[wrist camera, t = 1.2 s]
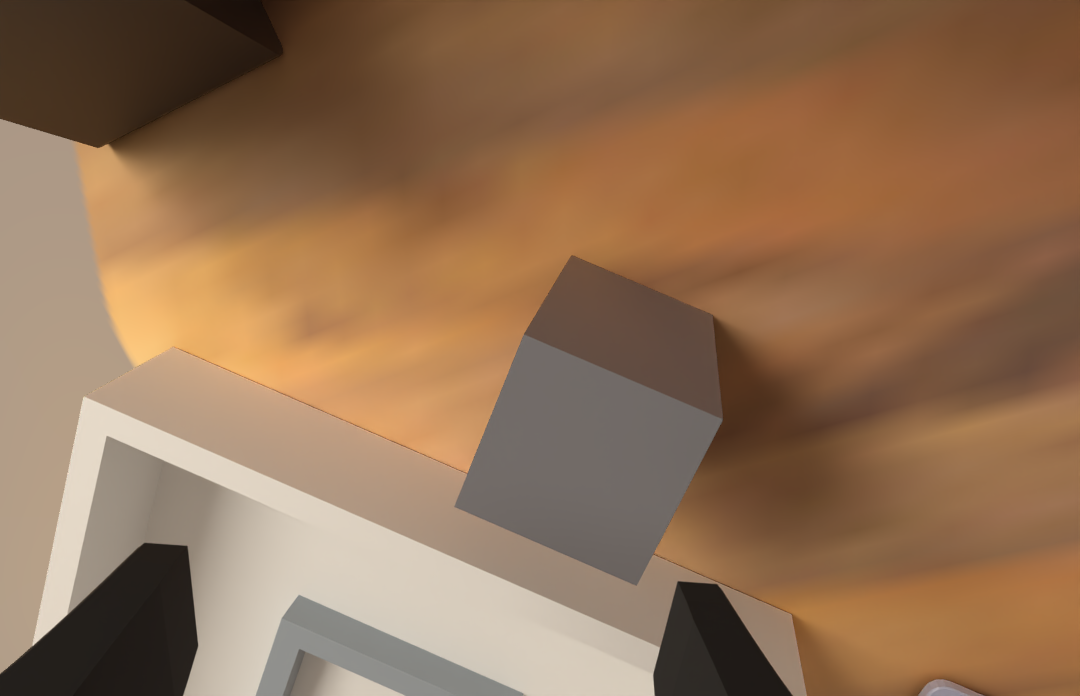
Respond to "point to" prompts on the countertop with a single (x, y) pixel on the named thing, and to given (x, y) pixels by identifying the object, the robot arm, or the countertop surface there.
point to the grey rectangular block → (599, 421)
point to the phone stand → (121, 60)
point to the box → (345, 555)
